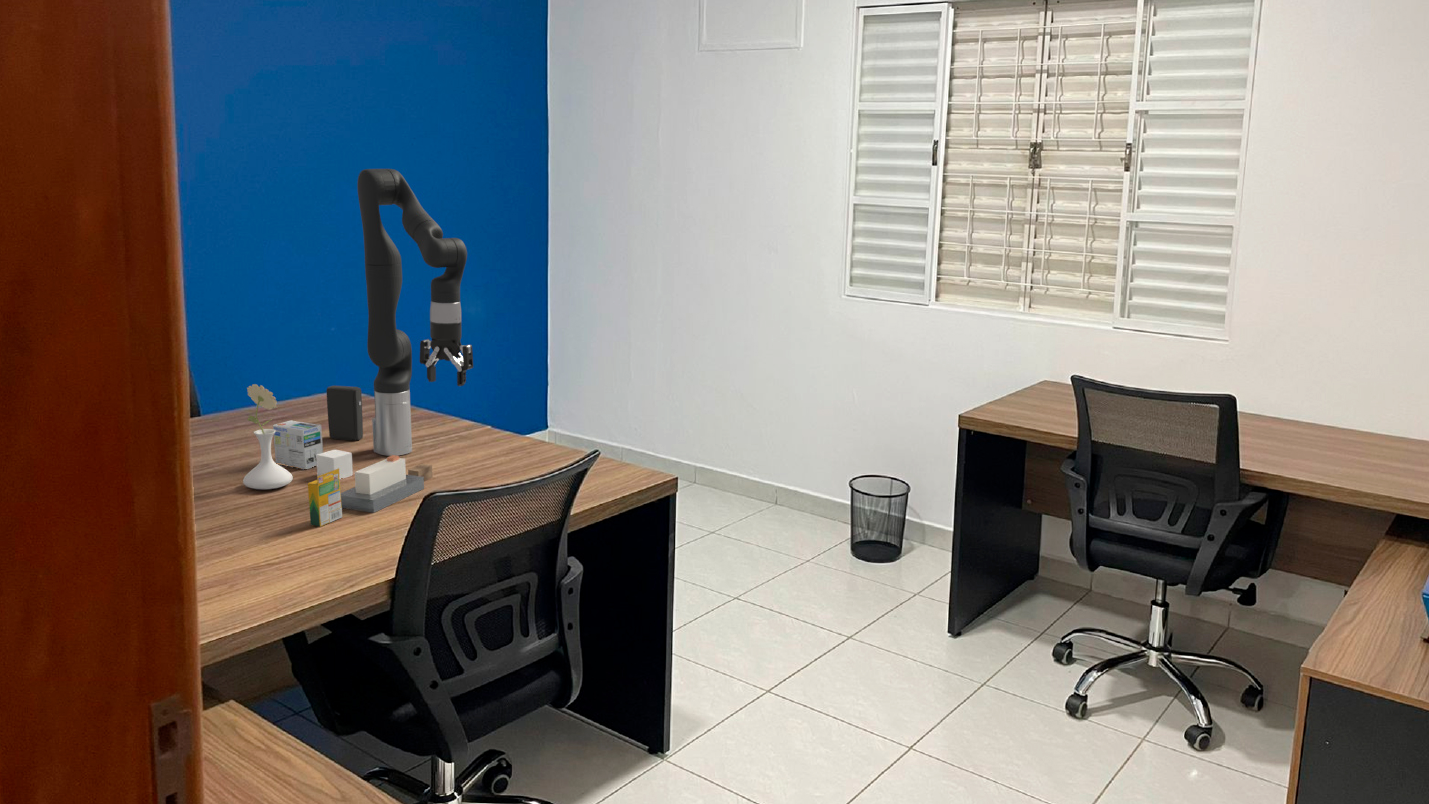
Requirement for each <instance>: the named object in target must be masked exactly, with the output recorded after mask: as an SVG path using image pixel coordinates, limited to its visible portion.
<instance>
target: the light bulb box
mask: <svg viewBox="0 0 1429 804" xmlns="http://www.w3.org/2000/svg"><path fill="white" fill-rule="evenodd" d="M272 429H273V430H276V432H275V433H274V435H273V445H274V446H273V447H274V456H275V458H274V459H275V463H281V464H285V465H288V466H294V467H298V468H301V469H300V470H304V469H307V470H309V469H312V467H313V468H315V467H314V466H316V467H317V459H316V455H317V454H321V453H324V447H323V431H322V424H317V423H311V422H305V421H304V422H303V421H295V420H292V419H291V420H287V421H283V422H281V423H276V424H273V425H272ZM298 468H297V469H298Z"/></svg>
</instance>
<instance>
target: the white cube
mask: <svg viewBox="0 0 1429 804" xmlns="http://www.w3.org/2000/svg"><path fill="white" fill-rule="evenodd" d="M316 459H317V466H316V472H317V474H316V475H317V476H320V475H322V474H325V473H327V472H330V471H333V470H335V469H338V468H339V478H340V480H342V479H341V478H343V479H346V478H349V477H352V475H354V472H353V454H352V452H348V451H345V450H339V449H332V450H328V451H323V453H321V454H317V455H316ZM328 475H333V474H328ZM328 475H327V476H328ZM317 476H316V477H317ZM325 477H326V476H325Z"/></svg>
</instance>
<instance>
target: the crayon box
mask: <svg viewBox="0 0 1429 804" xmlns="http://www.w3.org/2000/svg"><path fill="white" fill-rule="evenodd" d="M328 474H333V475H328ZM327 475H328V476H327ZM325 476H326V477H325ZM340 480H341V479H340V478H339V468H338V469H335V470H333V471H330V472H327V473H325V474H322V475H320V476H316V479H315V480H312V481H311V482H308V483H307V492H308V493H307V494H308V506H309V520H310V526H312V525H315V526H314V527H318V526H319V528H322V527H323V526H326V525H328V524H329V523H332V522H334V521H336V520H339V519H342V518H343V508H342V506H341V493H342V492H341V481H340ZM321 526H322V527H321Z"/></svg>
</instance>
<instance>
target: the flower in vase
mask: <svg viewBox="0 0 1429 804" xmlns="http://www.w3.org/2000/svg"><path fill="white" fill-rule="evenodd" d="M246 389H247V391H246V392H247V396H248V397H250V398H251V400H252V401H253V402H254V404H256V407H255V408H256V409H255V414H254V415H255V416H253V415H252V414H249V415H248V418H247V421H248V422H252V423H253V424H256V425H257V424H258V426H259V428H260V429H257V430H255V431H253V435H255V437H256V438H257V440H258V442H259V447H260V454H261V456H260V461H259V463H258V464H257V465H256V466H255V467H254V468H252V469H251V470H250V471H249V472H248V473H246V475H245V476H244V477H243V480H242V484H243V485H244V486H245V487H246V488H250V489H253V490H272V489H278V488H282V487H284V486H286V485H288V484H290V483H291V482H292V481H293V479H294V478H293V477H294V476H293V475H292V473H291V472H290V471H289V470H287V469H285V467H284V466H282V465H278V464H276V461H274V459H273V457H272V456H273V455H272V442H273V441H272V440H273V438H274V433H275V432H276V430H273V428H263V426H265V425H266V424H269V422H271V421H272V420H273V418H270V419H269V420H266V421H264V422H263V423H262V424H261V423H260V421H259V419H258V410H259V407H261V408H263V409H265V410H270V411H271V410H274V409H277V408H278V406H277V403H278V402H277V400H276V399H277V398H276V397H275V396H273V395H274V393H273V392H272V391H269V389H267V388H265V387H264V386H263V385H261V384H260V386H259V385H258V384H256V383H254V384H252V385H249V386H248V387H246Z"/></svg>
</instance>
